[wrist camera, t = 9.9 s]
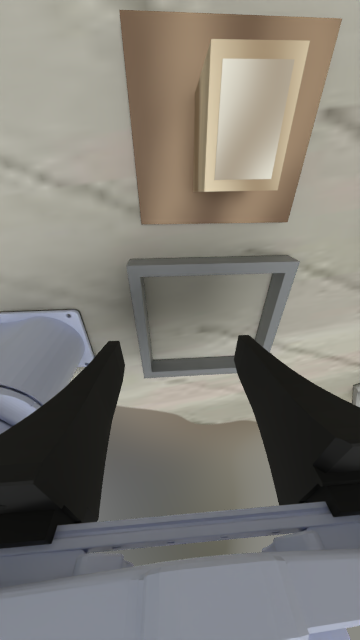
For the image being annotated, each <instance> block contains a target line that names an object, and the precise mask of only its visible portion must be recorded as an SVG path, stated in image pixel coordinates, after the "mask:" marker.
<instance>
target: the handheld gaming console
mask: <svg viewBox="0 0 360 640" xmlns="http://www.w3.org/2000/svg"><path fill="white" fill-rule="evenodd" d="M353 388H354V389H353V404H354V405H356V406H358V407H360V384H357V385H353Z"/></svg>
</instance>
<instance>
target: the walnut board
mask: <svg viewBox="0 0 360 640" xmlns="http://www.w3.org/2000/svg"><path fill="white" fill-rule="evenodd" d="M120 20H121V30H122V40H123V49H124V59H125V69H126V78H127V88H128V98H129V107H130V117H131V127H132V136H133V146H134V156H135V165H136V175H137V185H138V194H139V204H140V214H141V223H142V224H198V223H265V222H288V218H289V215H290V211H291V207H292V203H293V200H294V196H295V192H296V189H297V185H298V181H299V177H300V174H301V170H302V166H303V162H304V159H305V155H306V151H307V148H308V144H309V140H310V136H311V133H312V129H313V125H314V121H315V118H316V114H317V110H318V107H319V103H320V99H321V95H322V92H323V88H324V84H325V80H326V77H327V73H328V69H329V66H330V62H331V58H332V54H333V51H334V47H335V43H336V39H337V36H338V32H339V28H340V25H341V21H342V19H338V18H313V17H287V16H262V15H236V14H211V13H186V12H160V11H135V10H120ZM211 39H243V40H302V41H310V43H309V47H308V52H307V57H306V61H305V66H304V70H303V75H302V80H301V84H300V89H299V94H298V98H297V103H296V107H295V112H294V117H293V121H292V126H291V130H290V135H289V140H288V144H287V149H286V153H285V158H284V163H283V167H282V172H281V177H280V181H279V186H278V190H268V191H214V192H193V173H194V118H195V91H196V88H197V85H198V81H199V78H200V75H201V71H202V68H203V65H204V61H205V58H206V55H207V51H208V48H209V45H210V41H211Z"/></svg>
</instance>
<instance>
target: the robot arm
mask: <svg viewBox="0 0 360 640" xmlns="http://www.w3.org/2000/svg"><path fill="white" fill-rule="evenodd" d="M68 314H70V315H71V316H69V315H68ZM234 363H235V366H236V370H237V373H238V376H239V379H240V381H241V383H242V386H243V388H244V391H245V393H246V395H247V398H248V400H249V402H250V404H251V407H252V409H253V412H254V415H255V417H256V421H257V424H258V427H259V430H260V433H261V437H262V440H263V444H264V447H265V450H266V454H267V458H268V461H269V465H270V469H271V473H272V477H273V481H274V485H275V489H276V493H277V498H278V502H279V506H269V507H258V508H247V509H235V510H225V511H213V512H203V513H191V514H180V515H169V516H157V517H147V518H135V519H124V520H114V521H102V522H97V520H98V517H99V508H100V499H101V489H102V482H103V475H104V467H105V460H106V454H107V447H108V441H109V435H110V429H111V424H112V419H113V415H114V412H115V408H116V404H117V401H118V397H119V393H120V390H121V386H122V382H123V376H124V368H125V364H124V359H123V355H122V351H121V346H120V342H119V341H109V342H108V343H107V344H106V345H105V346H104V347H103V348H102V350H101V351H100V352H99V353H98V354H97V355H96V356H95V358H94V355H93V352H92V349H91V346H90V343H89V340H88V337H87V334H86V331H85V328H84V325H83V322H82V319H81V316H80V314H79V312H78V311H76V310H56V311H29V312H1V313H0V640H351V639H350V637H349V634H348V632H347V629H346V628H348V627H353V626H360V407H358V406H356V405H354V404H352V403H349V402H347V401H345V400H343V399H341V398H339V397H337V396H335V395H333V394H331V393H330V392H328V391H326V390H324V389H322V388H321V387H319V386H317V385H315V384H314V383H312V382H310V381H309V380H307V379H306V378H304V377H302V376H301V375H299V374H298V373H296V372H295V371H293V370H292V369H290V368H289V367H288V366H286V365H285V364H284V363H282V362H281V361H280V360H278V359H277V358H276V357H274V356H273V355H272V354H271V353H269V352H268V351H267V350H266V349H265V348H263V347H262V346H261V345H260V344H259V343H257V342H256V341H255V340H254V339H253V338H252V337H250V336H249V335H239V336H238V341H237V346H236V351H235V356H234ZM77 367H85V368H84V369H83V370H82V371H81V372H80V373H79V374H78V375H77V376H76V377H75V378H74V379H73V380H72V381H71V379H72V377H73V375H74V373H75V371H76V369H77ZM70 381H71V382H70ZM289 533H293V534H289ZM279 534H289V535H285V536H280V537H276V538H274V540H273V543H272V544H271V545H269V546H267V547H265V548H263V549H262V552H259V553H242V554H228V555H217V556H207V557H197V558H190V559H181V560H173V561H167V562H160V563H153V564H147V565H141V566H134V565H133V563H132V562H129V561H126V560H124V556H123V555H122V554H113V553H112V554H111V553H94V552H104V551H113V550H114V551H115V550H125V549H135V548H145V547H155V546H166V545H176V544H186V543H197V542H206V541H217V540H227V539H237V538H248V537H258V536H268V535H279Z"/></svg>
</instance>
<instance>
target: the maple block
mask: <svg viewBox="0 0 360 640" xmlns="http://www.w3.org/2000/svg"><path fill="white" fill-rule="evenodd" d="M309 43H310V41H302V40H243V39H211V41H210V45H209V48H208V51H207V55H206V58H205V61H204V65H203V68H202V71H201V75H200V78H199V81H198V85H197V88H196V91H195V118H194V173H193V192H214V191H268V190H278V186H279V181H280V177H281V172H282V167H283V163H284V158H285V153H286V149H287V144H288V140H289V135H290V130H291V126H292V121H293V117H294V112H295V107H296V103H297V98H298V94H299V89H300V84H301V80H302V75H303V70H304V66H305V61H306V57H307V52H308V47H309Z"/></svg>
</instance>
